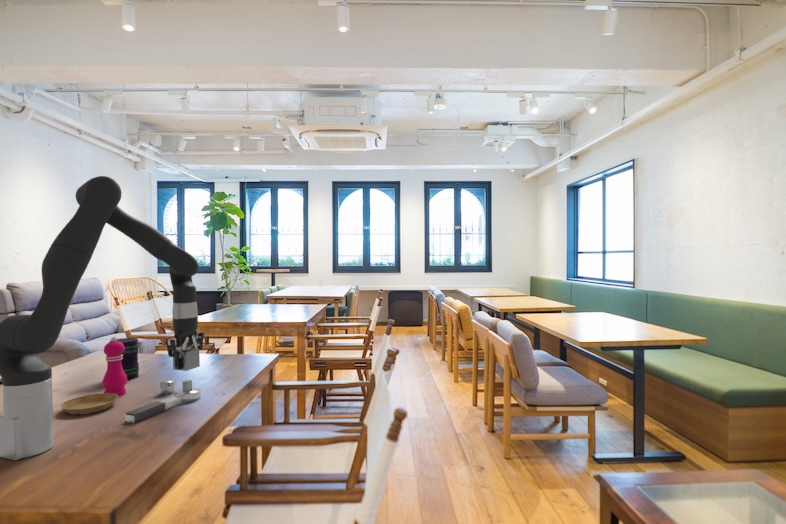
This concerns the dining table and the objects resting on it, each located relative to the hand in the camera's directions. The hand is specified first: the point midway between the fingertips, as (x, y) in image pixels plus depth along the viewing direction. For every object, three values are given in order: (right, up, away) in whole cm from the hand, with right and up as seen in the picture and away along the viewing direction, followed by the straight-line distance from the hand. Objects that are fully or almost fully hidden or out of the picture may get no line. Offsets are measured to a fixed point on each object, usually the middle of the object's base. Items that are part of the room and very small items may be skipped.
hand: (186, 366), depth 142 cm
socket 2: (0, 0, 0) cm, 0 cm away
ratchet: (-3, -11, -8) cm, 14 cm away
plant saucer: (-27, -12, -7) cm, 30 cm away
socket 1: (-10, -11, +7) cm, 16 cm away
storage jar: (-37, -11, +26) cm, 47 cm away
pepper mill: (-27, -11, +6) cm, 30 cm away
